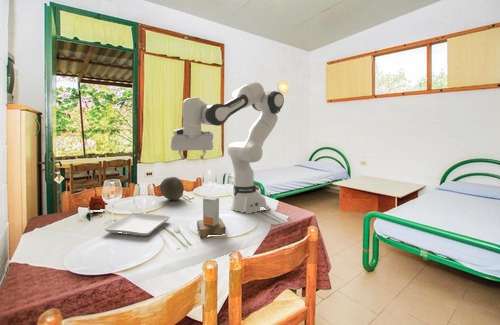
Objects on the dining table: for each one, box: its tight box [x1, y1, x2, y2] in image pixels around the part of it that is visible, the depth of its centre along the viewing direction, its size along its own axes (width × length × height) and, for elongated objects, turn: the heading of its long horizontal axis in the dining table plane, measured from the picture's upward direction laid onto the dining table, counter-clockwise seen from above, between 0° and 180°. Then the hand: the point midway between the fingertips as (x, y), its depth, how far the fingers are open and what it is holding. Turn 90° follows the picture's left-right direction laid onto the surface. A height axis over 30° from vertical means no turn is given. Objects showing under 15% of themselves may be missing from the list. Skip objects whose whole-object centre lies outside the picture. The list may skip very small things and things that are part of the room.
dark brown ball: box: [159, 176, 185, 201], centre depth 164 cm, size 14×14×15 cm
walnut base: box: [196, 217, 227, 239], centre depth 117 cm, size 11×11×4 cm
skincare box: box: [202, 195, 220, 226], centre depth 115 cm, size 6×4×12 cm
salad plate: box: [103, 212, 171, 237], centre depth 120 cm, size 21×21×3 cm
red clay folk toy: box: [88, 184, 106, 211], centre depth 140 cm, size 8×7×15 cm
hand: (192, 159), depth 127 cm, fingers open, 8 cm apart
